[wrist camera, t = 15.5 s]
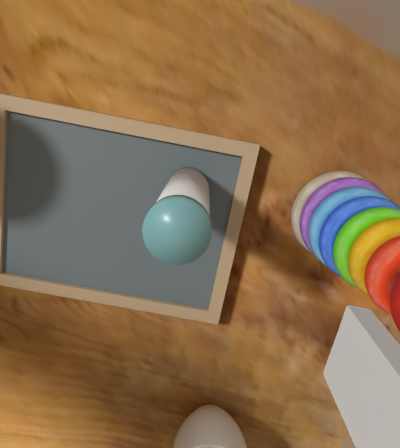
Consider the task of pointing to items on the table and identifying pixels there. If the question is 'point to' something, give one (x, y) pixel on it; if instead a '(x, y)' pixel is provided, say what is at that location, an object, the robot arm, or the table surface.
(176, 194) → the teal and white cylinder
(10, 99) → the board
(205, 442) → the cup
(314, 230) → the stacking toy
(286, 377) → the table surface
